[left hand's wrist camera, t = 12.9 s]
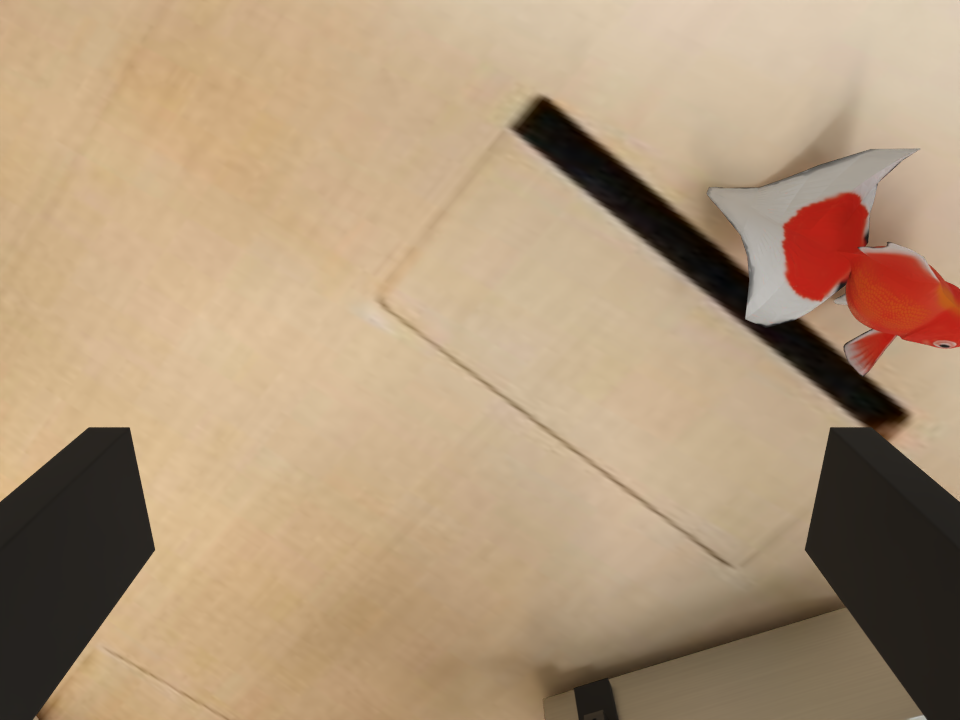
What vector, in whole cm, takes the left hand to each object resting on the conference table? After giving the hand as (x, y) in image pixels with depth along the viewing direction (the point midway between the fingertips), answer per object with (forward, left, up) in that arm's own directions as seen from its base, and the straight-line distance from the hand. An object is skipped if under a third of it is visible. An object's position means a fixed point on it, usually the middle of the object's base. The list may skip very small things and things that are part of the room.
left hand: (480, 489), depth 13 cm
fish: (-18, +6, -29) cm, 35 cm away
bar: (-8, +37, -28) cm, 47 cm away
